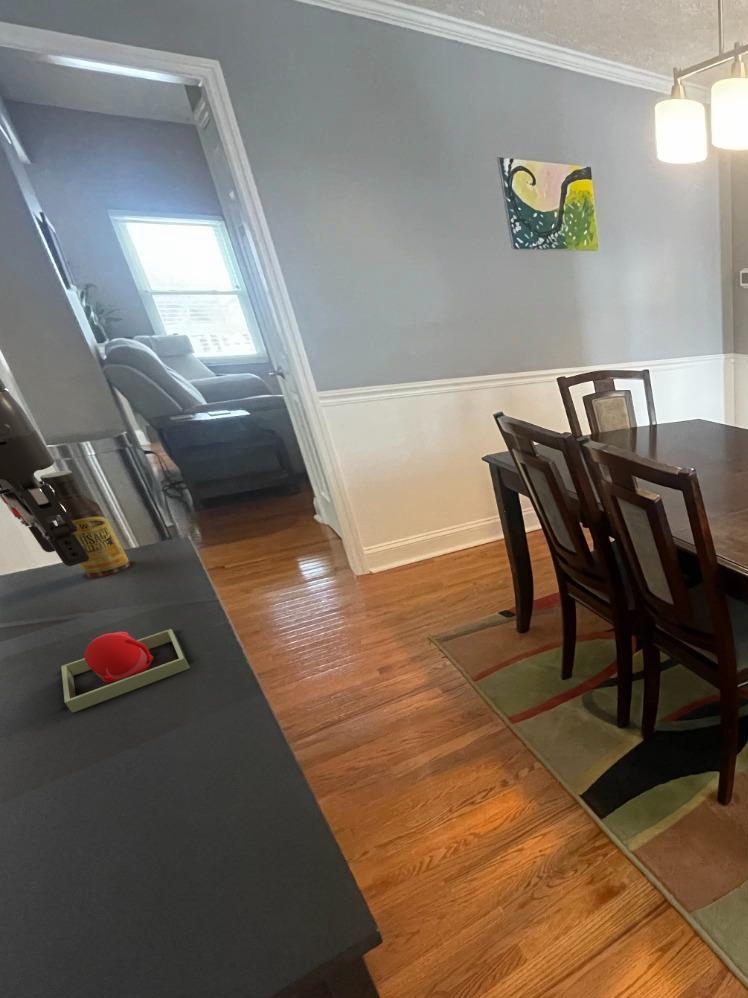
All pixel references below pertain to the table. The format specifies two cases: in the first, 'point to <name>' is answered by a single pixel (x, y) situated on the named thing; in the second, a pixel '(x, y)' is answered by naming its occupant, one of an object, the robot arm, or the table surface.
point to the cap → (117, 656)
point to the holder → (125, 684)
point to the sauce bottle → (88, 526)
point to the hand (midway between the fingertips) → (67, 556)
